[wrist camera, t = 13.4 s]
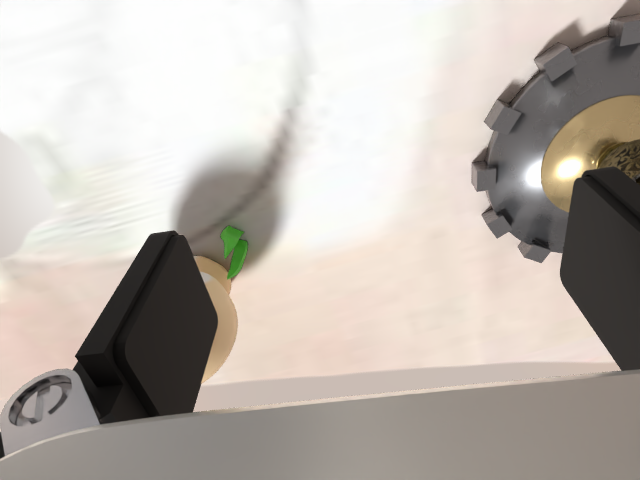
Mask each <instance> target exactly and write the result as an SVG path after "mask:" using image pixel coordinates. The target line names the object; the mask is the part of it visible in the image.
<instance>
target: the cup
mask: <svg viewBox="0 0 640 480" xmlns="http://www.w3.org/2000/svg"><path fill="white" fill-rule="evenodd" d="M606 167H616V168H618V169H620V170H621V171H622V172H623V173H625V174H626V175H627V176H629V177H630V178H631V179H632V180H634V181H635V182H636V183H638V184H639V185H640V139H638V140H634V141H630V142H619V143H616V144H613V145H611V146H609V147H608V148H606V149H605V150H604V151H603V152H602V153H601V154H600V156H599V157H598V160H597V163H596V169H599V168H606Z"/></svg>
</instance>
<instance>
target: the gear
mask: <svg viewBox="0 0 640 480" xmlns="http://www.w3.org/2000/svg"><path fill="white" fill-rule="evenodd" d="M534 61H535V63H536V65H537V67H538V69H539V70H540V72H539V73H538V74H536V75H535V76H534V77H533V78H532V79H531V80H530V81H529V82H528V83H527V84H526V85H525V86H524V87H523V88H522V89H521V90H520V92H519V93H518V94H517V95H516V96H515V97H514V99H513V100H512V101H511V102H510V104H507V103H505V102H502V101H500V100H497V101H496V102H495V104H494V106H493V107H492V109H491V111H490V112H489V114H488V116H487V118H486V119H485V121H484V122H485V123H486V124H487V126H488V127H489V128H490V129H492V130H494V132H493V134H492V137H491V139H490V142H489V145H488V149H487V153H486V157H485V161H481V162H475V163H472V181H471V183H472V184H473V186H474V188H475V189H476V191H477V192H478V191H485V190H486V193H487V197H488V200H489V202H490V205H491V207H492V209H490V210H489V211H487V212H485V213H484V214H482V217H483V219H484V220H485V222H486V224H487V226H488V227H489V228H490V230H491V231H492V232H493V234H494V235H495V236H496V238H499V237H501V236H502V235H504V234H506V233H507V232H510V233H511V234H513V235H514V236H515V237H516V238H518V239H519V240H521V241H522V242H521V243H520V244H519V246H518V248H519V250H520V251H521V253H522V255H523V256H524V257H525V258H528V259H531V260H534V261H537V262H540V263H542V262H543V261H544V259H545V258H546V257H547V256H548V254H549V253H550V252H557V253H563V248H564V242H565V235H566V229H567V222H568V216H569V209H570V203H571V197H572V190H573V184H574V181H575V180H576V179H577V178H580V177H581V176H582V174H583V172H585V171H586V170H592V169H596V163H597V160H598V157H599V156H600V154H601V153H602V152H603V151H604V150H605V149H606V148H608V147H609V146H611V145H613V144H616V143H619V142H630V141H634V140H638V139H640V14H637V15H631V16H626V17H620V18H615V19H611V21H610V27H609V33H608V36H605V37H602V38H599V39H597V40H594V41H591V42H588V43H586V44H584V45H582V46H580V47H578V48H576V49H574V50H571V51H570V49H569V47H568V46H566V45H563V44H561V43H559V42H558V43H556V44H555V45H554V46H552V47H551V48H549V49H548V50H547V51H545V52H544V53H542V54H541V55H540V56H538V57H537V58H535V59H534Z"/></svg>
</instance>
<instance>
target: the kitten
mask: <svg viewBox="0 0 640 480" xmlns="http://www.w3.org/2000/svg"><path fill="white" fill-rule="evenodd" d="M243 233H244V232H243V231H240V230H237V229H235V228H232V227H231V226H228V227H226V228H225V229H224V230H223V231H222V233H221V236H220V237H221V239H222V240H223V241H224V257H225V259H226V257H227V256H228V255H229V254H230V252H231V251H232V250H233V248H234V252H233V256H232V261H231V265H230V270H229V272H227V270H226V269H225V268H224V267H223V266H221V265H220V264H218V263H216V262H214V261H212V260H210V259H208V258H206V257H202V256H193V257H194V259H195V261H196V264H197V266H198V269H199V271H200V273H201V276H202V278H203V281H204V283H205V285H206V288H207V290H208V293H209V295H210V298H211V300H212V302H213V305H214V307H215V310H216V312H217V316H218V327H217V331H216V334H215V338H214V341H213V344H212V348H211V351H210V355H209V358H208V362H207V365H206V368H205V372H204V375H203V379H202V382H201V384H202V383H203V382H205V381H206V380H208V379H209V378H210V377H211V376H213V375H214V374H215V373H216V372H217V371H218V370H219V368H220V367H221V366H222V365H223V363H224V362H225V360H226V359H227V357H228V356H229V354H230V352H231V350H232V347H233V345H234V342H235V339H236V335H237V328H238V319H237V313H236V309H235V306H234V304H233V302H232V300H231V298H230V297H229V293H230V290H231V279H230V278H232V277H234V276H236V275H237V274H238V273H239V272H240V270H241V268H242V265H243V263H244V260H245V257H246V254H247V250H248V244H247V241H244V240H239V238H240V237H241V235H242V234H243Z"/></svg>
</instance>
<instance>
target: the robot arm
mask: <svg viewBox="0 0 640 480" xmlns="http://www.w3.org/2000/svg"><path fill="white" fill-rule="evenodd" d="M560 277H561V281H562V284H563V286H564V287H565V289H566V290H567V292H568V293H569V295H570V296H571V297H572V299H573V300H574V302H575V303H576V305H577V306H578V308H579V309H580V311H581V312H582V313H583V315H584V316H585V318H586V319H587V321H588V322H589V324H590V325H591V327H592V328H593V330H594V331H595V332H596V334H597V335H598V337H599V338H600V340H601V341H602V343H603V344H604V346H605V347H606V348H607V350H608V351H609V353H610V354H611V356H612V357H613V359H614V360H615V362H616V363H617V365H618V366H619V367H620V369H621V370H622V371H612V372H602V373H591V374H580V375H568V376H557V377H546V378H536V379H525V380H514V381H503V382H492V383H481V384H471V385H460V386H450V387H439V388H429V389H420V390H409V391H398V392H389V393H378V394H367V395H357V396H348V397H337V398H327V399H318V400H308V401H299V402H288V403H278V404H268V405H260V406H249V407H239V408H230V409H221V410H210V411H201V412H193V409H194V406H195V403H196V399H197V396H198V393H199V389H200V386H201V382H202V379H203V375H204V372H205V368H206V365H207V362H208V358H209V355H210V351H211V348H212V344H213V341H214V338H215V334H216V331H217V327H218V316H217V312H216V310H215V307H214V305H213V302H212V300H211V298H210V295H209V293H208V290H207V288H206V285H205V283H204V281H203V278H202V276H201V273H200V271H199V269H198V266H197V264H196V261H195V259H194V257H193V254H192V252H191V249H190V247H189V244H188V242H187V240H186V238H185V237H184V236H183V235H178V234H177V232H176V231H167V232H160V233H153V234H151V235H150V236H149V237H148V238H147V240H146V242H145V243H144V245H143V247H142V248H141V250H140V251H139V253H138V255H137V256H136V258H135V260H134V261H133V263H132V264H131V266H130V268H129V269H128V271H127V273H126V274H125V276H124V277H123V279H122V281H121V282H120V284H119V286H118V287H117V289H116V290H115V292H114V294H113V295H112V297H111V299H110V300H109V302H108V303H107V305H106V307H105V308H104V310H103V312H102V313H101V315H100V316H99V318H98V320H97V321H96V323H95V325H94V326H93V328H92V329H91V331H90V333H89V334H88V336H87V338H86V339H85V341H84V342H83V344H82V346H81V347H80V349H79V351H78V352H77V354H76V355H75V357H76V358H77V360H78V362H77V364H76V365H75V367H74V369H73V370H70V369H56V370H53V371H49V372H46V373H44V374H42V375H40V376H38V377H36V378H34V379H32V380H31V381H29V382H28V383H26V384H25V385H23V386H22V387H21V388H20V389H19V390H18V391H17V392H16V393H15V394H13V395H12V397H11V398H10V399H9V401H8V402H7V403H6V404H5V406H4V408H3V410H2V412H1V414H0V429H1V432H0V480H640V185H639V184H638V183H636V182H635V181H634V180H632V179H631V178H630V177H629V176H627V175H626V174H625V173H623V172H622V171H621V170H620V169H618V168H616V167H606V168H599V169H592V170H586V171H585V172H583V174H582V176H581V177H580V178H577V179H576V180H575V181H574V184H573V190H572V197H571V203H570V209H569V216H568V222H567V229H566V235H565V242H564V248H563V254H562V261H561V267H560Z"/></svg>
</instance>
